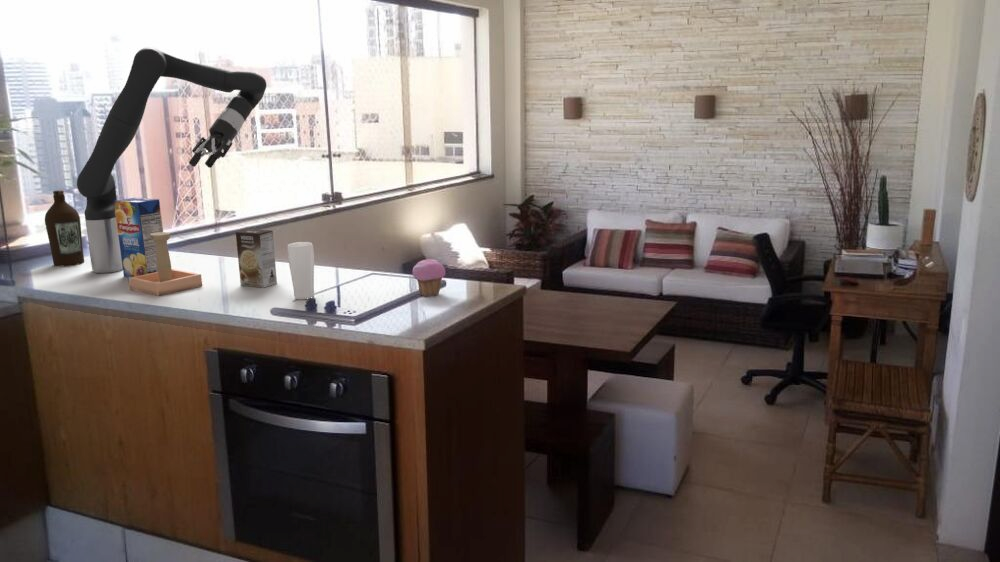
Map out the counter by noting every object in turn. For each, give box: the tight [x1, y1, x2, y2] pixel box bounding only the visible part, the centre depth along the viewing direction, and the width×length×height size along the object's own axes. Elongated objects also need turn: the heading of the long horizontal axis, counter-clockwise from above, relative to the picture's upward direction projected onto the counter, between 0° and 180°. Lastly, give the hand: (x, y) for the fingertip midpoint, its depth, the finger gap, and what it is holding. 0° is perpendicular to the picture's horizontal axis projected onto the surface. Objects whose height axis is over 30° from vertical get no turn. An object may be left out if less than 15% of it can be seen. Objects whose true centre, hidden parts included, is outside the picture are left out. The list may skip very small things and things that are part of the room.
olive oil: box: [44, 189, 85, 267], centre depth 279 cm, size 11×11×25 cm
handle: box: [150, 231, 173, 282], centre depth 240 cm, size 5×6×15 cm
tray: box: [128, 268, 203, 297], centre depth 241 cm, size 15×14×4 cm
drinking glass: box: [287, 241, 315, 301], centre depth 223 cm, size 7×7×15 cm
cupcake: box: [412, 258, 446, 297], centre depth 223 cm, size 9×9×10 cm
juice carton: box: [114, 197, 164, 278], centre depth 256 cm, size 12×8×24 cm, turn 59°
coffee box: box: [235, 228, 278, 289], centre depth 241 cm, size 9×6×16 cm
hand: (199, 165), depth 255 cm, fingers open, 8 cm apart
